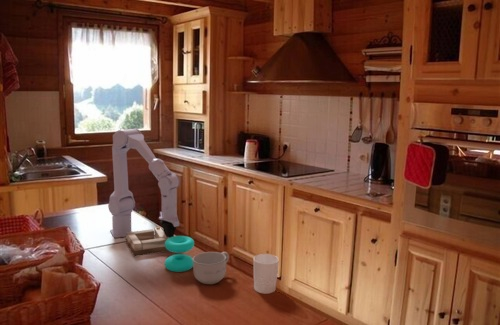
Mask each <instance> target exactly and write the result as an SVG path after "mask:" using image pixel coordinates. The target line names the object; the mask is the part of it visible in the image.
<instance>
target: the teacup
mask: <svg viewBox="0 0 500 325" xmlns="http://www.w3.org/2000/svg"><path fill="white" fill-rule="evenodd" d="M192 258H193V259H192V260H193V267H192V268H193V275H194V278H195V280H197V281H198V282H200V283H202V284H204V285H214V284H217V283H219V282H221V281H222V280H223V278H224V277H225V275H226V273H227V263H228V261H229V259H230V256H229V253H228V252H227V251H222V252H219V251H204V252H200V253H197V254H195V255H194V256H192Z"/></svg>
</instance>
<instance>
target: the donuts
mask: <svg viewBox="0 0 500 325" xmlns="http://www.w3.org/2000/svg"><path fill="white" fill-rule="evenodd" d="M194 246H195V240H194V239H193V238H192V237H190V236H187V235H174V236H173V237H170V238H168V239H167V240H166V241H165V247H166V249H167V250H169V251H168V252H172V253H176V254H172V255H170V256H168V257H167V258H166V259H165V260H164V266H165V268H166V269H167V270H169V271H170V272H173V273H175V272H176V273H179V272H180V273H181V272H182V273H183V272H186V271H187V272H188V271H190V270H191V269H192V268H193V260H192V259H193V256H191V255H189V254H184V253H186V252H189V251H191V250H192V249H193V248H194Z"/></svg>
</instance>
